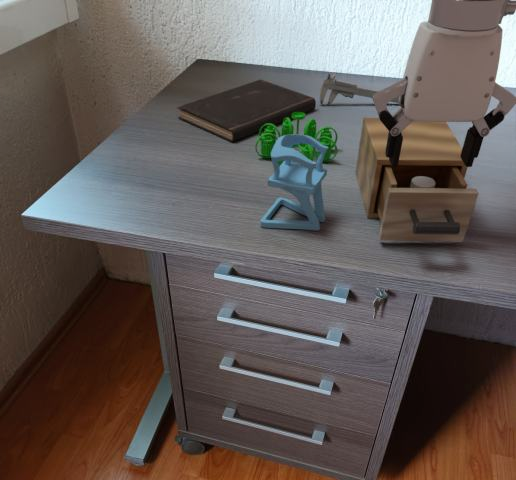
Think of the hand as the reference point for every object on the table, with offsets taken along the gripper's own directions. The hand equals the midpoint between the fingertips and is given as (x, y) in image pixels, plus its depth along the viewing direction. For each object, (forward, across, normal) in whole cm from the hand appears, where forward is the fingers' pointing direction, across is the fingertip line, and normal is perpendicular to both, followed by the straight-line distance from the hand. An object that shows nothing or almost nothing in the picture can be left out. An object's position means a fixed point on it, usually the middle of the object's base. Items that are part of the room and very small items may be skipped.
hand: (429, 162), depth 69 cm
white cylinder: (+8, 0, 0) cm, 8 cm away
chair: (+10, +17, -1) cm, 20 cm away
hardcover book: (+10, +25, -41) cm, 49 cm away
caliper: (+10, 0, -47) cm, 48 cm away
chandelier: (+10, +16, -23) cm, 30 cm away
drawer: (+9, 0, +1) cm, 9 cm away
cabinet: (+10, 0, -9) cm, 14 cm away
